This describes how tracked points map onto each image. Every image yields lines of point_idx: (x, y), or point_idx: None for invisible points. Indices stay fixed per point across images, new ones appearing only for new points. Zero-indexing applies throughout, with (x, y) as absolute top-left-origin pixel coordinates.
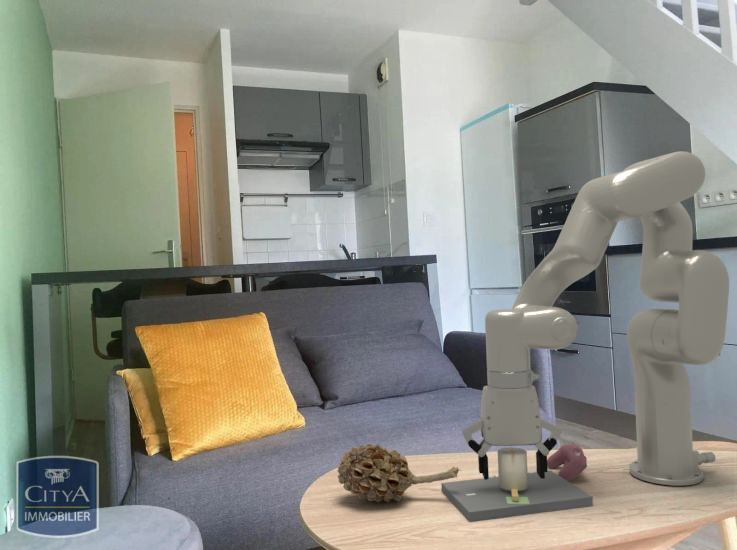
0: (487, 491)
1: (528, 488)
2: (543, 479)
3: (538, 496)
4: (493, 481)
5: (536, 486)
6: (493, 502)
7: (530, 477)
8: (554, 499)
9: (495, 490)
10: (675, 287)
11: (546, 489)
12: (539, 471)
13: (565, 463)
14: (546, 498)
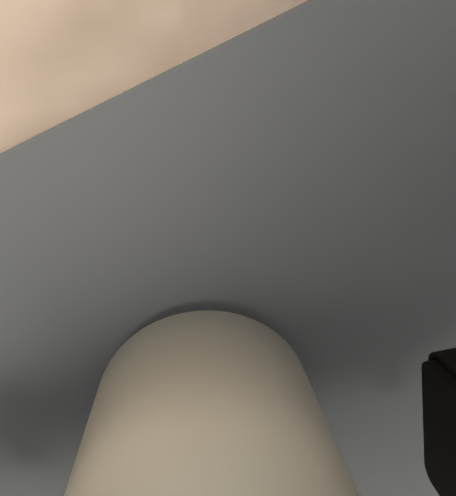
0: (29, 445)
1: (305, 354)
2: (442, 151)
3: (351, 461)
4: (39, 253)
5: (364, 310)
6: None
7: (346, 114)
8: (431, 484)
9: (81, 422)
10: None
11: (420, 352)
12: (450, 488)
13: None
14: (391, 478)
